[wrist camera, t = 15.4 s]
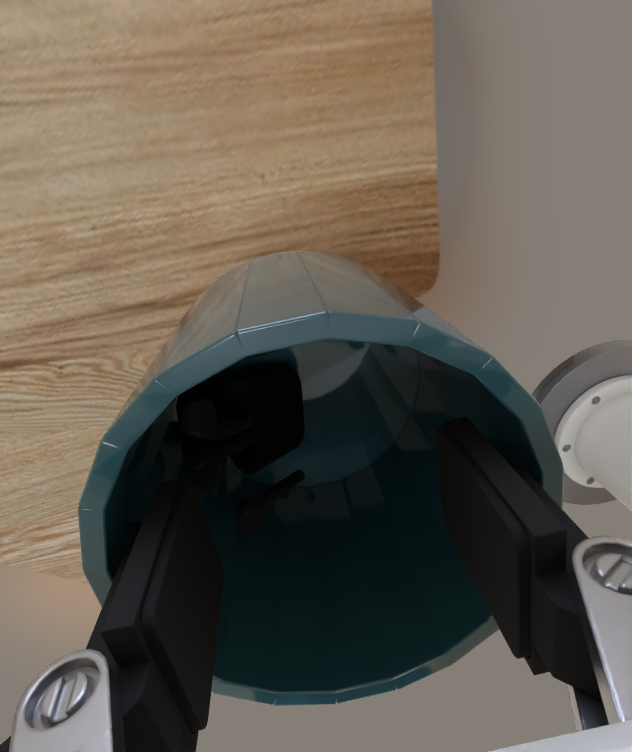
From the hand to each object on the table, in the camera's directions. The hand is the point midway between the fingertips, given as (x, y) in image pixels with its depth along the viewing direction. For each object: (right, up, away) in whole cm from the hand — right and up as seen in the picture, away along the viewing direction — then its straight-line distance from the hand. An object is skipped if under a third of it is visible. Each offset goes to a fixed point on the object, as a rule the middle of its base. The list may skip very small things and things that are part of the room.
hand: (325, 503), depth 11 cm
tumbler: (-1, +3, +7) cm, 7 cm away
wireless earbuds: (-1, +2, +6) cm, 7 cm away
